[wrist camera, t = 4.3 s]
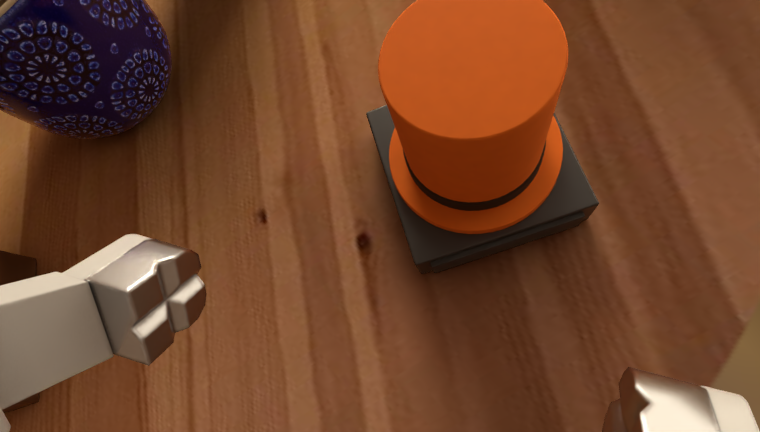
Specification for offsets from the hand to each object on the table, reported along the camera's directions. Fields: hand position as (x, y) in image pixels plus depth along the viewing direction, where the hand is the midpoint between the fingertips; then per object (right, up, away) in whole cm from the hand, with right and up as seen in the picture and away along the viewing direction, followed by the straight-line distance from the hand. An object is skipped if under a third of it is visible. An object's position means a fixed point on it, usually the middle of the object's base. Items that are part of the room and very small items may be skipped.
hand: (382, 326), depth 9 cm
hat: (+5, +5, +15) cm, 16 cm away
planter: (-18, +11, +24) cm, 32 cm away
